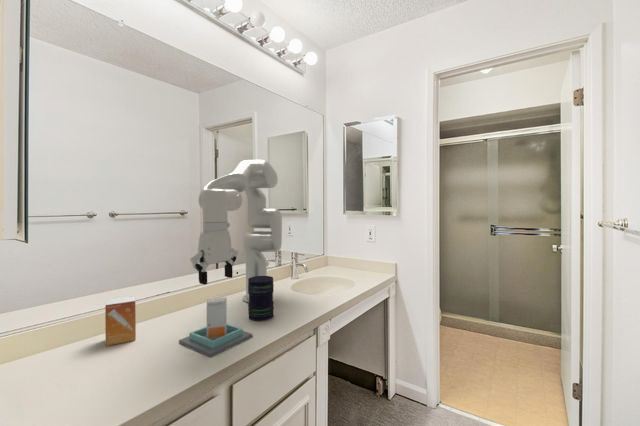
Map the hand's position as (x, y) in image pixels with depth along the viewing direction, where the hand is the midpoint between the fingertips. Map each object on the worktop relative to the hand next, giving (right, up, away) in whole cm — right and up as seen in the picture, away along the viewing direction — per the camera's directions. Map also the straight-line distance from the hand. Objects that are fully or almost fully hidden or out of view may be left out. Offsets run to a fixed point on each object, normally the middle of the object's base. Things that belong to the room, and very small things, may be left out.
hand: (216, 280), depth 97 cm
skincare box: (0, -19, 0) cm, 19 cm away
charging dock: (0, -19, 0) cm, 19 cm away
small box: (-31, -20, 0) cm, 37 cm away
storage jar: (+10, -19, +21) cm, 30 cm away
